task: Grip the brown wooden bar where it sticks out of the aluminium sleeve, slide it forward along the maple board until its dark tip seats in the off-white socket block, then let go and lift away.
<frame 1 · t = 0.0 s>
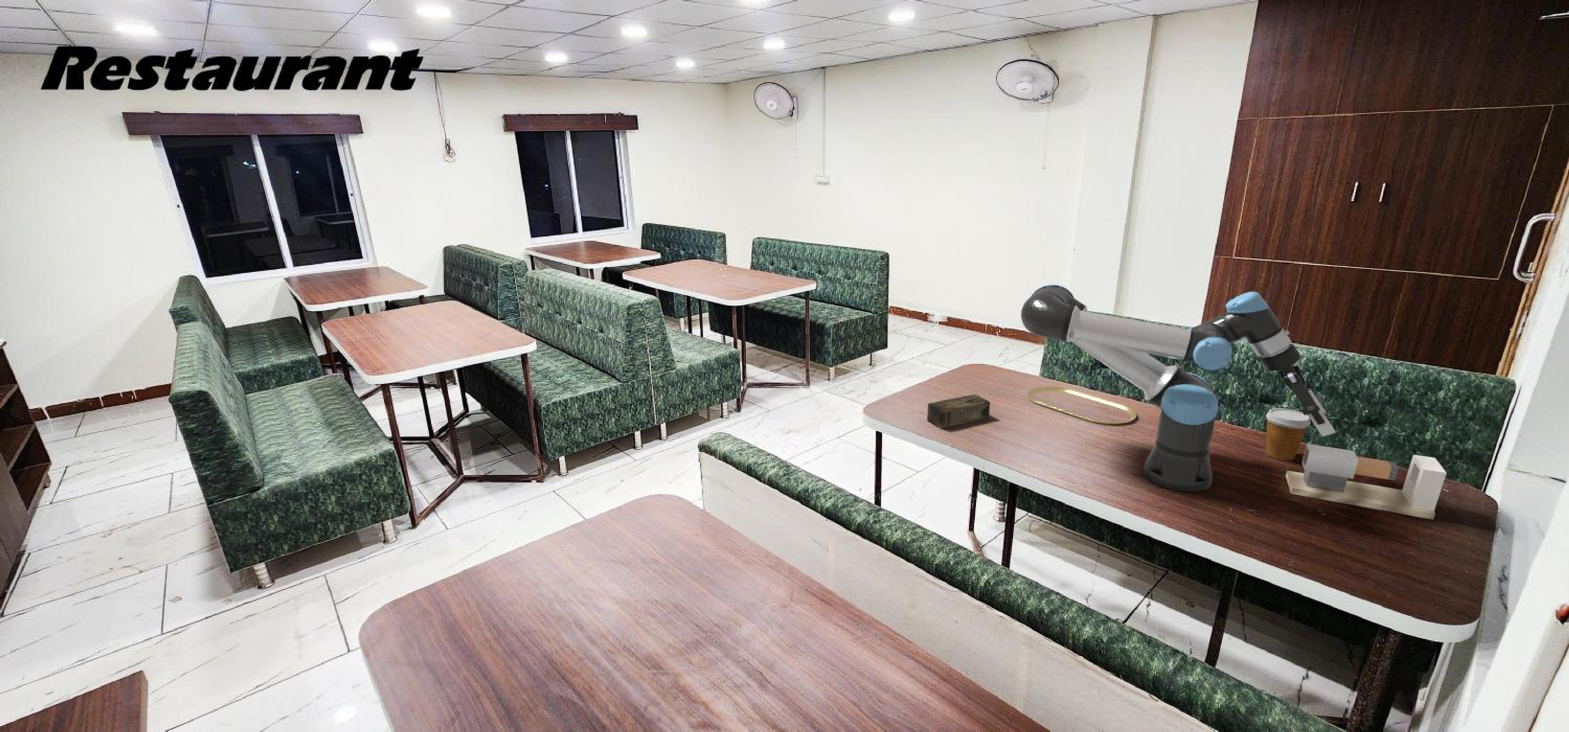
hand: (1323, 423, 158), 15 cm above the table, tool tilted 35°, fingers open, 13 cm apart
bench board: (1354, 496, 154), on the table
sleeve: (1321, 490, 157), resting on bench board
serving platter: (1078, 408, 212), on the table
disposable coffee cup: (1279, 455, 175), on the table
beverage carton: (957, 420, 206), on the table
socket block: (1415, 507, 149), resting on bench board
brown wooden bar: (1351, 464, 153), point 8 cm above the table, slide at 0.0 cm
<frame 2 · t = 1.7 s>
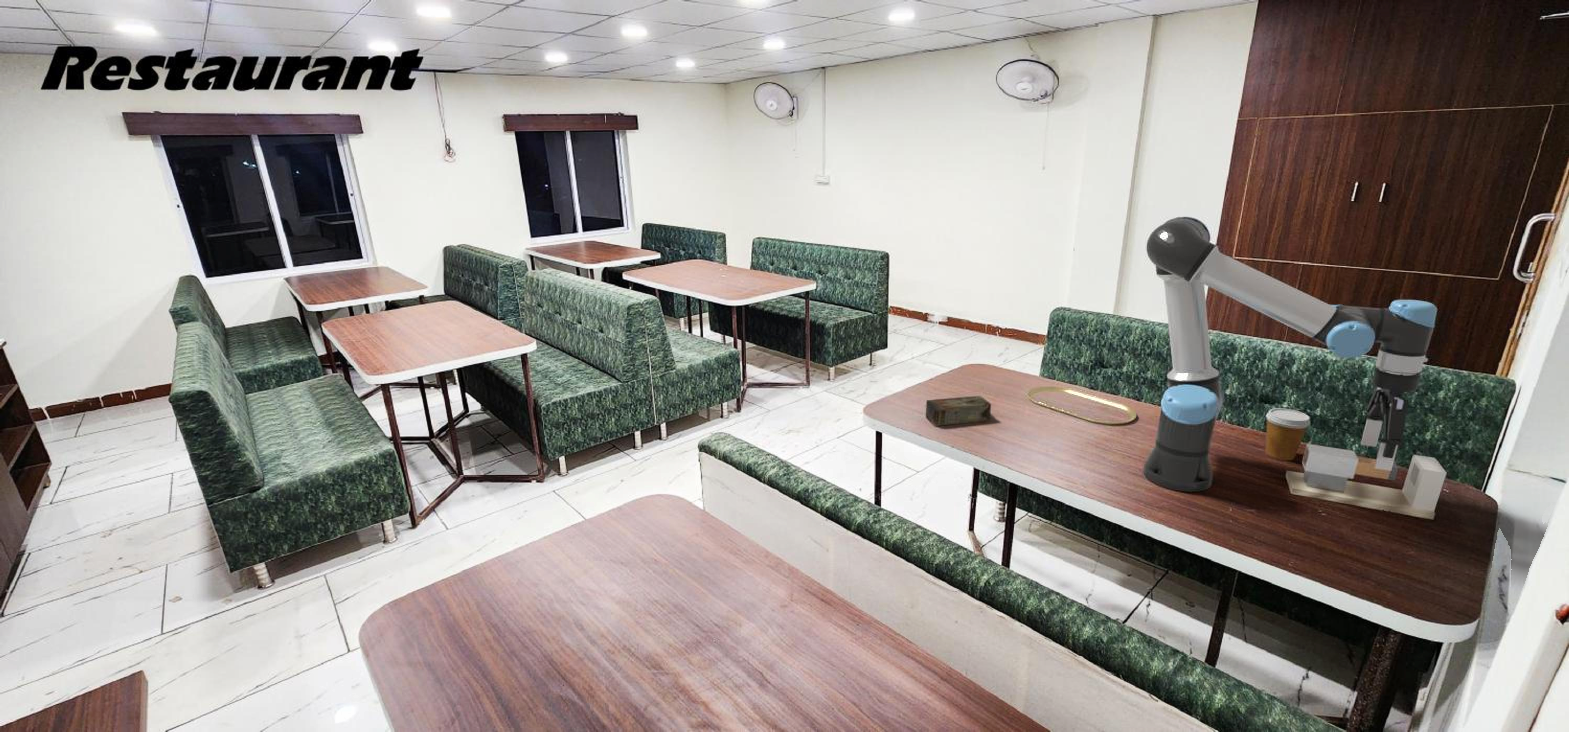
hand: (1375, 456, 150), 11 cm above the table, tool pointing down, fingers open, 13 cm apart
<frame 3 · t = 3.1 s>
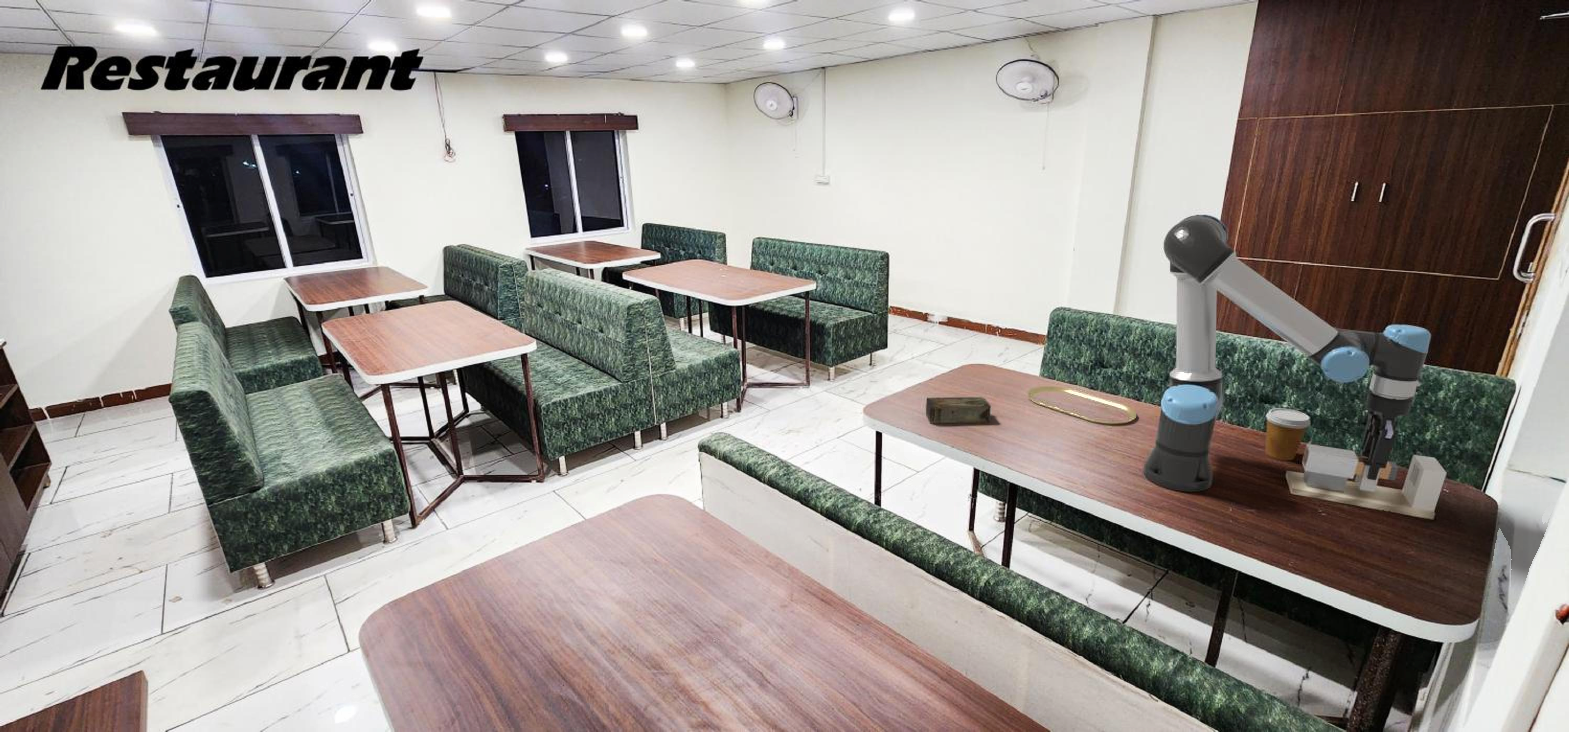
hand: (1364, 486, 153), 3 cm above the table, tool pointing down, fingers closed on brown wooden bar, 3 cm apart
brown wooden bar: (1351, 464, 153), point 8 cm above the table, slide at 0.0 cm, touching gripper
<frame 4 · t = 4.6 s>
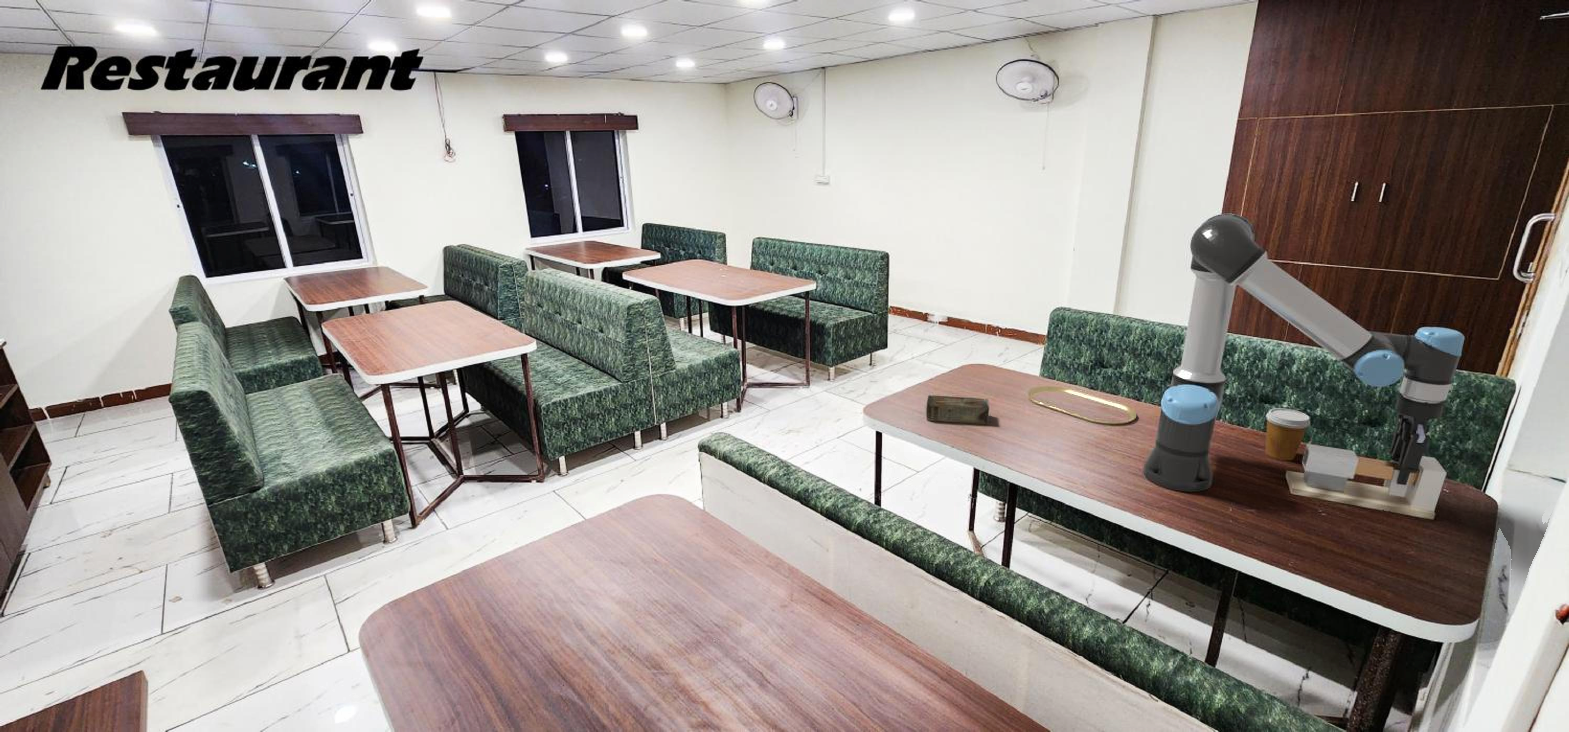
hand: (1393, 490, 150), 3 cm above the table, tool pointing down, fingers closed on brown wooden bar, 3 cm apart
brown wooden bar: (1380, 469, 150), point 8 cm above the table, slide at 5.2 cm, touching gripper
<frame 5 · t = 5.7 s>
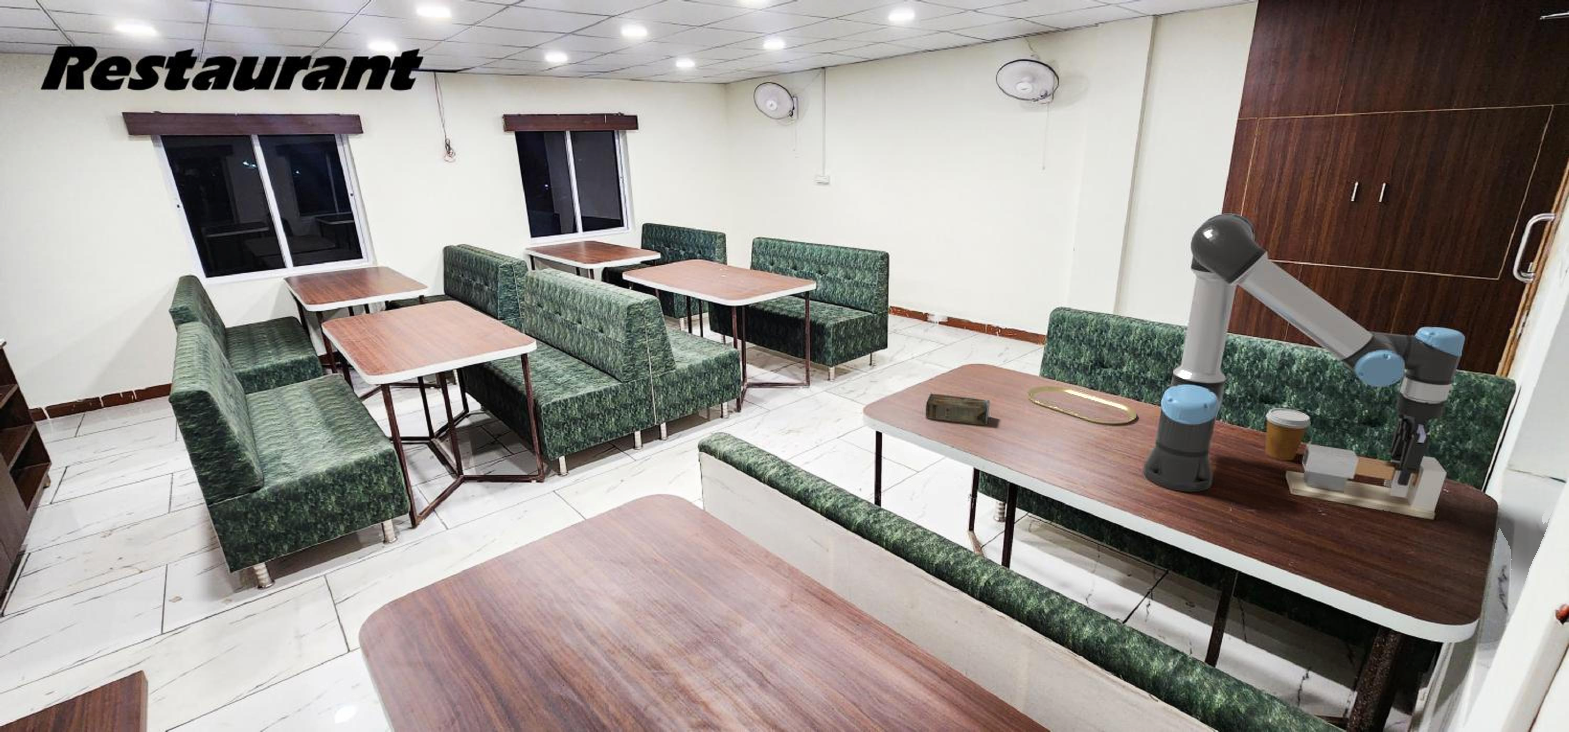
hand: (1394, 490, 150), 3 cm above the table, tool pointing down, fingers open, 4 cm apart
brown wooden bar: (1381, 469, 150), point 8 cm above the table, slide at 5.3 cm
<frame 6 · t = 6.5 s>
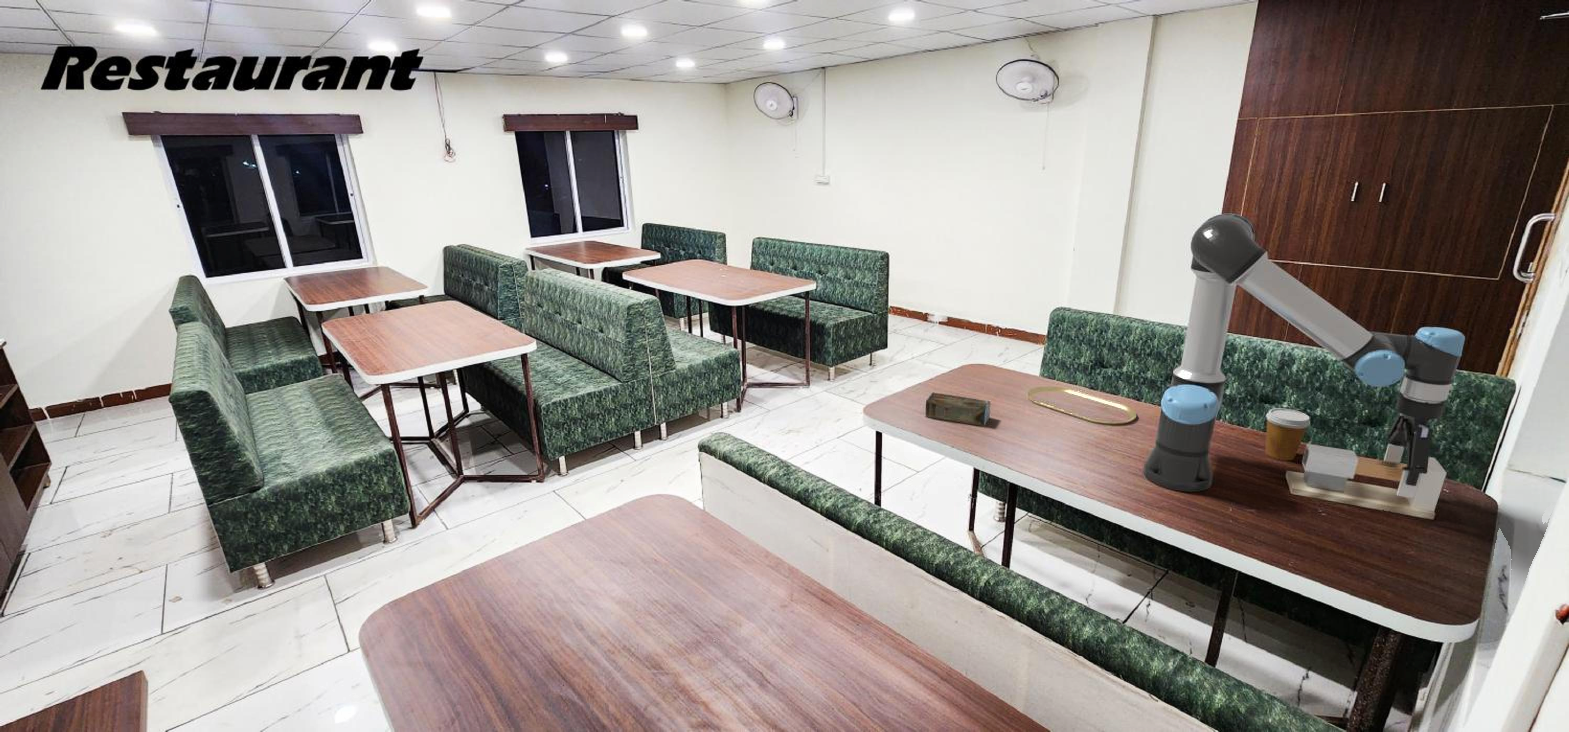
hand: (1396, 482, 149), 5 cm above the table, tool pointing down, fingers open, 13 cm apart
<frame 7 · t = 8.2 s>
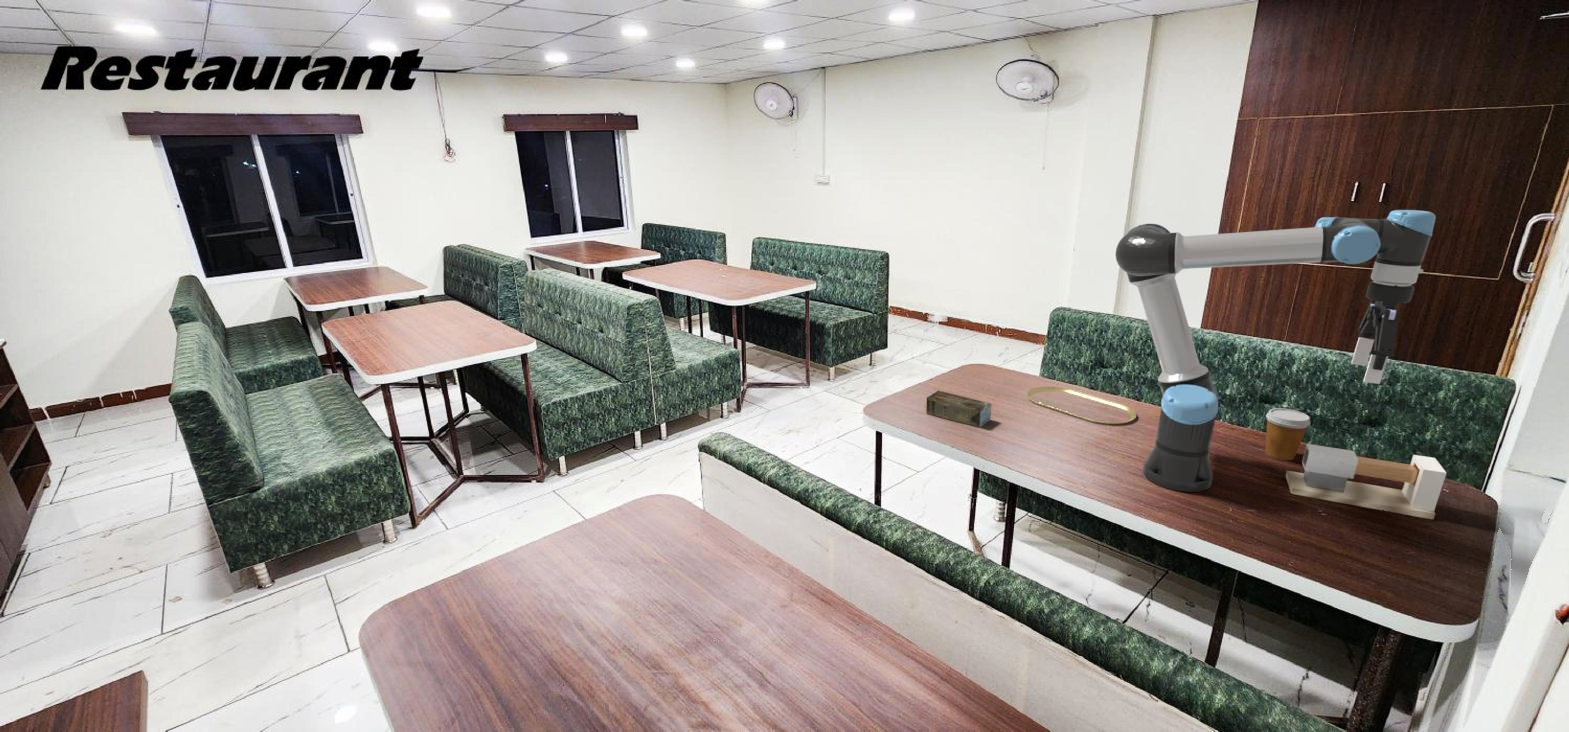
hand: (1364, 373, 149), 30 cm above the table, tool pointing down, fingers open, 13 cm apart
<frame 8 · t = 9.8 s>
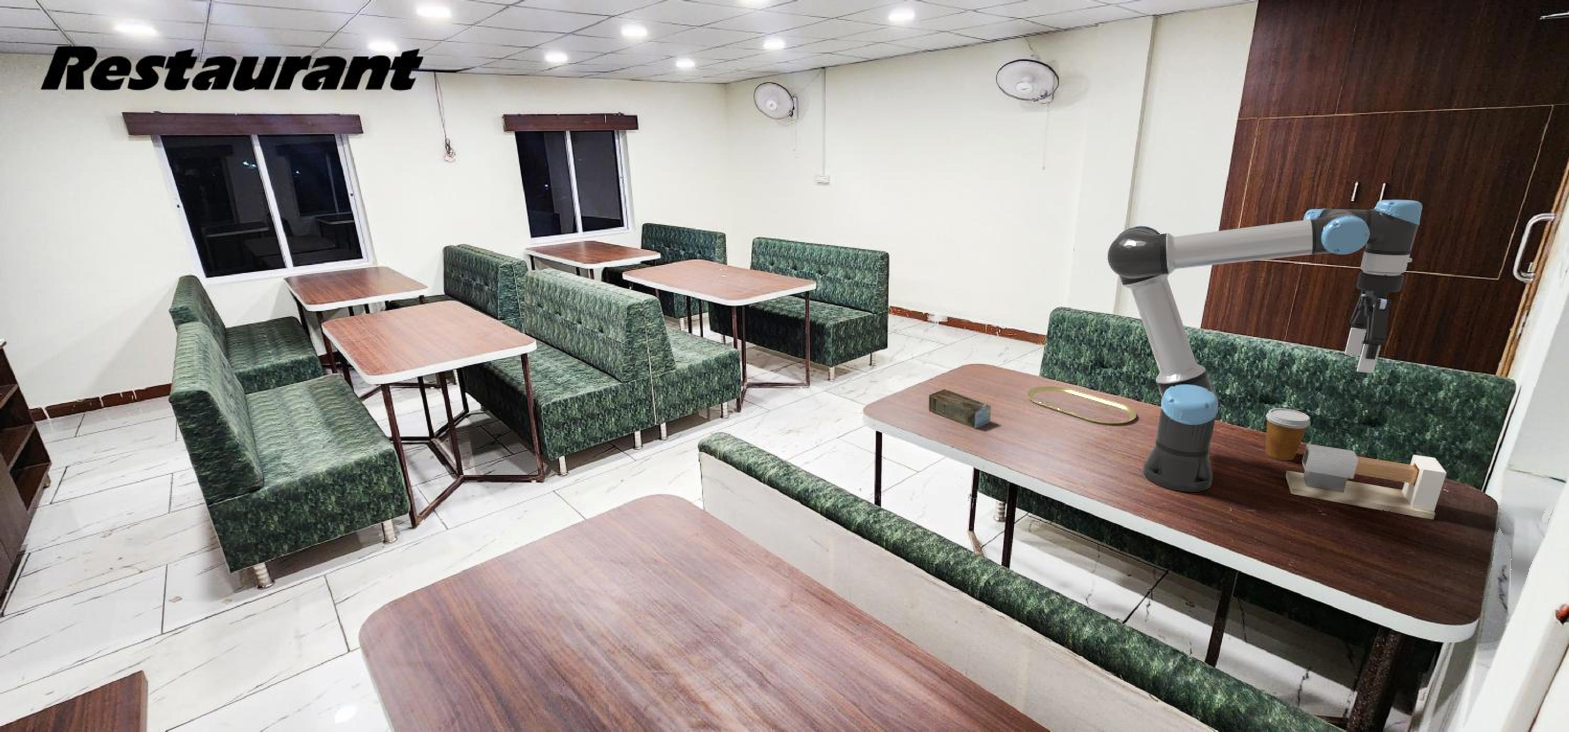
hand: (1358, 363, 150), 32 cm above the table, tool pointing down, fingers open, 13 cm apart
at the end: brown wooden bar slide at 5.3 cm; the gripper is holding nothing; disposable coffee cup moved 0.2 cm from its start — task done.
